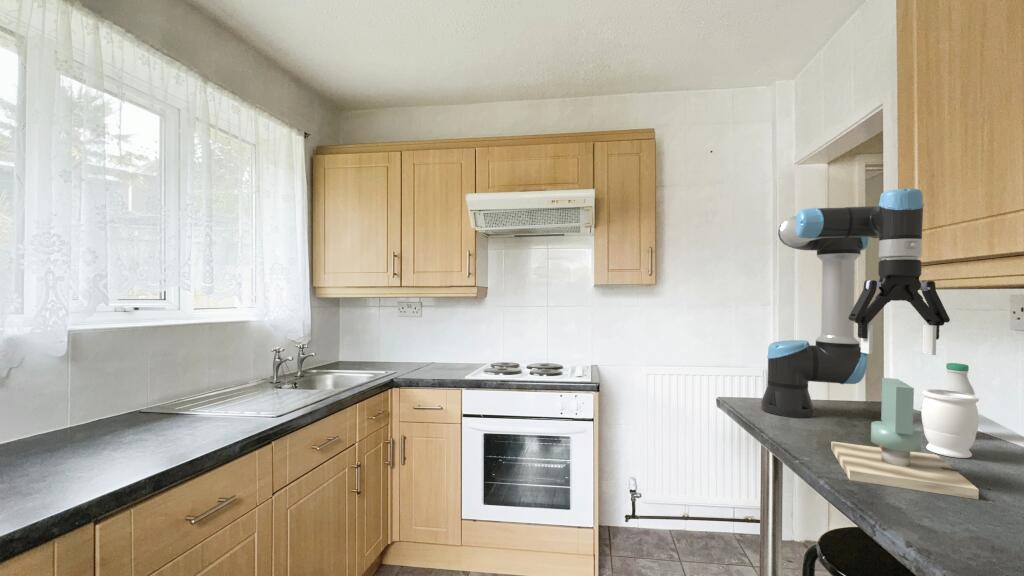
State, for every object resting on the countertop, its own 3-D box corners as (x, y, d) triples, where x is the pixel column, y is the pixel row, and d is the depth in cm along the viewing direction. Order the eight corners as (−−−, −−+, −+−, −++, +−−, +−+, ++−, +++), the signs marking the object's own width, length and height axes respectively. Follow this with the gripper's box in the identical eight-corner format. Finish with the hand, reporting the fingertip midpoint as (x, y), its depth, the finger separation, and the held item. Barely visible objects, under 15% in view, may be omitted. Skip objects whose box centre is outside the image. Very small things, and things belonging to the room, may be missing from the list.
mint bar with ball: (877, 449, 105) (879, 385, 104) (863, 432, 116) (864, 375, 116) (930, 455, 101) (931, 389, 101) (910, 438, 112) (911, 378, 112)
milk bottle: (950, 438, 132) (951, 365, 132) (930, 429, 139) (932, 361, 139) (982, 439, 130) (984, 366, 130) (961, 431, 138) (962, 362, 138)
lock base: (830, 448, 122) (831, 426, 122) (939, 462, 113) (939, 438, 113) (849, 479, 103) (850, 453, 102) (983, 500, 94) (983, 471, 93)
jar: (970, 450, 122) (971, 392, 122) (984, 463, 113) (985, 400, 113) (916, 443, 127) (917, 386, 127) (925, 454, 118) (927, 394, 118)
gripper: (853, 257, 104) (851, 355, 104) (973, 258, 103) (970, 357, 103) (832, 259, 111) (830, 350, 112) (943, 260, 110) (941, 352, 111)
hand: (897, 353), depth 107 cm, fingers open, 13 cm apart
